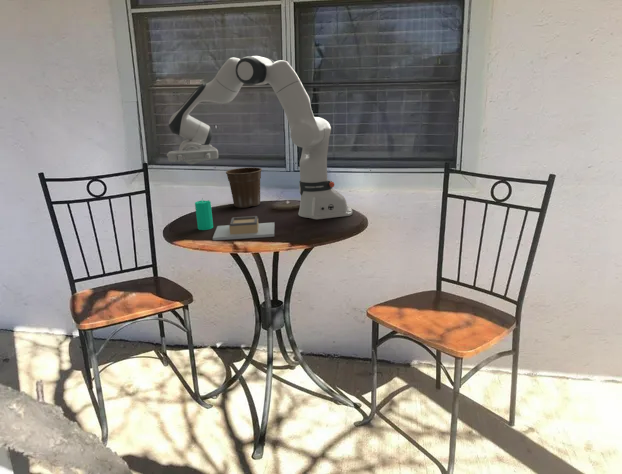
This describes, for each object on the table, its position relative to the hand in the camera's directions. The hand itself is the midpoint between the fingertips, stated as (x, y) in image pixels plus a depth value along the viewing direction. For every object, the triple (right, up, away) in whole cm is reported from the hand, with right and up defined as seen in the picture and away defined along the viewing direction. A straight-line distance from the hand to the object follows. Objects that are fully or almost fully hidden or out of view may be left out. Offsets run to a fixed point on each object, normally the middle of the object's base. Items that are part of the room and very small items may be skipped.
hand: (195, 157), depth 201 cm
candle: (+5, -28, -3) cm, 29 cm away
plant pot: (+17, -17, +32) cm, 40 cm away
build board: (+21, -30, -12) cm, 39 cm away
